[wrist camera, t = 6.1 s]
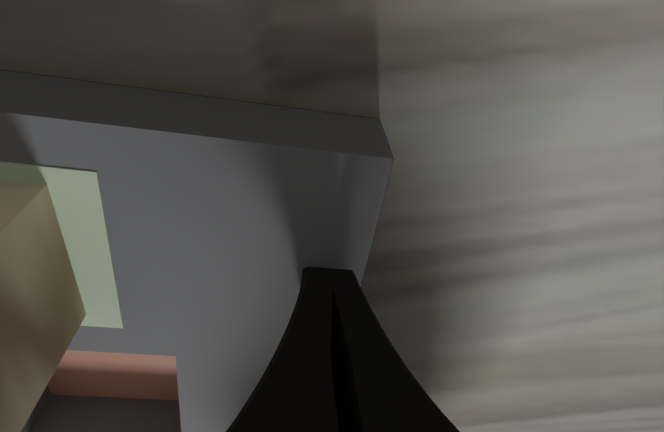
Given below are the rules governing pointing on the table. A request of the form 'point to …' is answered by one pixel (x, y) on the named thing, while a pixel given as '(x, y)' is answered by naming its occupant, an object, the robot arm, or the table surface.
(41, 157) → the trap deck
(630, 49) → the table surface
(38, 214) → the maple block
